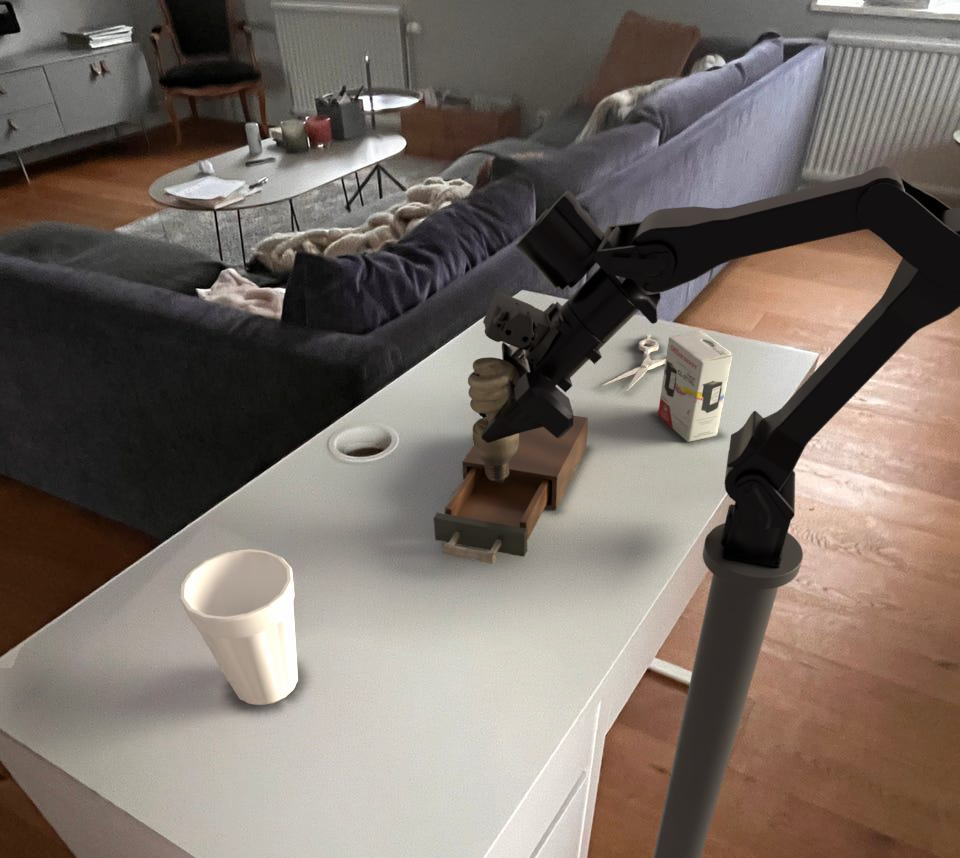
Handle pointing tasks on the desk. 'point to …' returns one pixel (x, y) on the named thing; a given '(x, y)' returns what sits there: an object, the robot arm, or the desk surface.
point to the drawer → (491, 515)
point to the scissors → (646, 363)
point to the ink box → (694, 385)
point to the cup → (246, 621)
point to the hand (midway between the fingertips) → (482, 427)
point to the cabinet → (544, 457)
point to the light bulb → (492, 413)
